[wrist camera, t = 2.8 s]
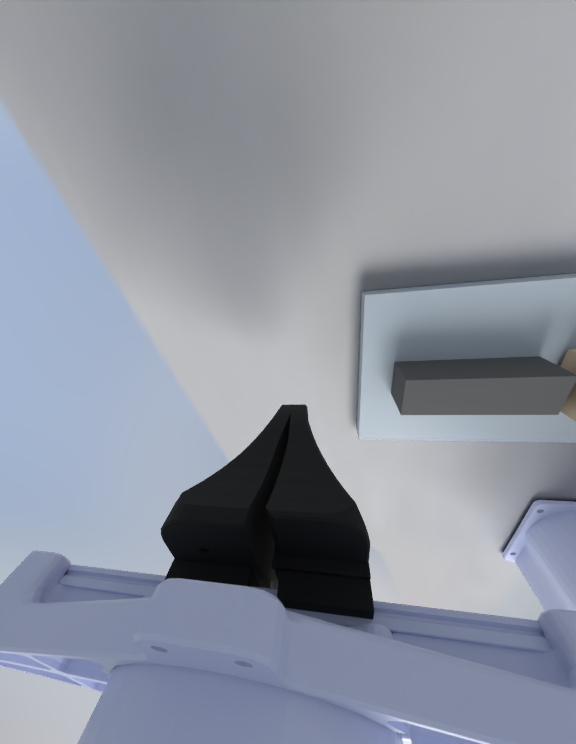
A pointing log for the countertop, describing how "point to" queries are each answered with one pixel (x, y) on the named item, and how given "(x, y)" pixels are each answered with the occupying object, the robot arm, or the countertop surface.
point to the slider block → (572, 407)
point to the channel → (463, 351)
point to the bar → (481, 386)
